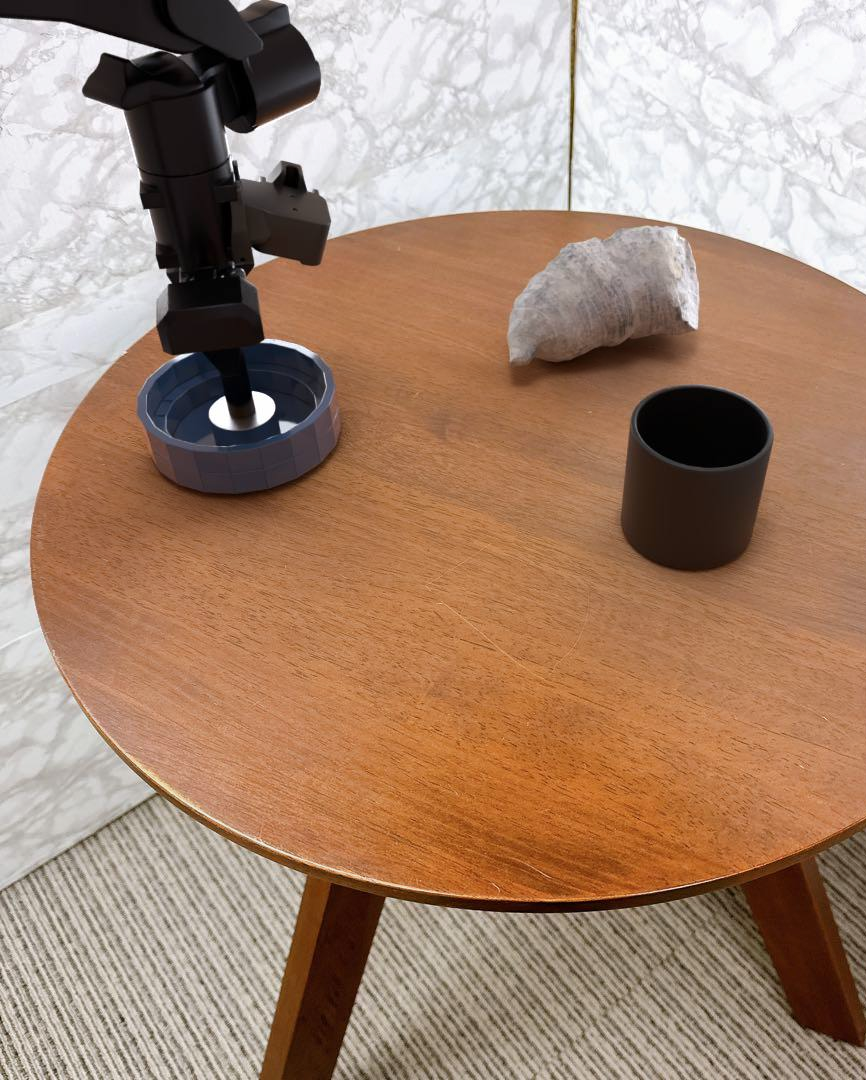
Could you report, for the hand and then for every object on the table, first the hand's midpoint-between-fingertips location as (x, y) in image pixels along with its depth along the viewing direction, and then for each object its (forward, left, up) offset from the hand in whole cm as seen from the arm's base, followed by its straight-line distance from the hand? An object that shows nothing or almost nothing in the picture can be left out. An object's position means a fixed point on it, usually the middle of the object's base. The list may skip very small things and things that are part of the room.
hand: (230, 366), depth 75 cm
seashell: (+31, +6, -7) cm, 32 cm away
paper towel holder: (0, 0, -6) cm, 6 cm away
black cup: (+31, -17, -7) cm, 36 cm away
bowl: (0, 0, -7) cm, 7 cm away
